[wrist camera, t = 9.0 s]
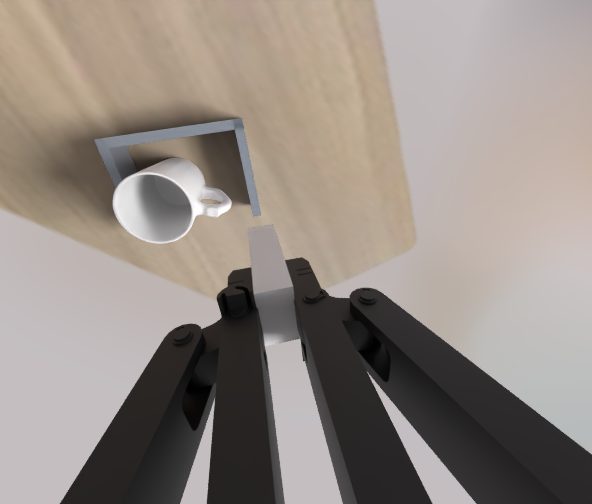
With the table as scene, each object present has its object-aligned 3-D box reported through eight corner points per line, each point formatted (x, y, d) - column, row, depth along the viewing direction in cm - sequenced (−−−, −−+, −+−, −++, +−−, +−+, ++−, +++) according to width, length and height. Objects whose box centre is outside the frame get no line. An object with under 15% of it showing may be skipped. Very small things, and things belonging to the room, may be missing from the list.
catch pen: (114, 136, 31) (93, 139, 27) (241, 118, 33) (241, 117, 29) (149, 223, 36) (137, 237, 32) (258, 203, 38) (261, 215, 34)
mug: (152, 203, 35) (115, 239, 25) (151, 150, 33) (109, 165, 22) (230, 213, 38) (226, 250, 27) (235, 164, 35) (233, 184, 25)
